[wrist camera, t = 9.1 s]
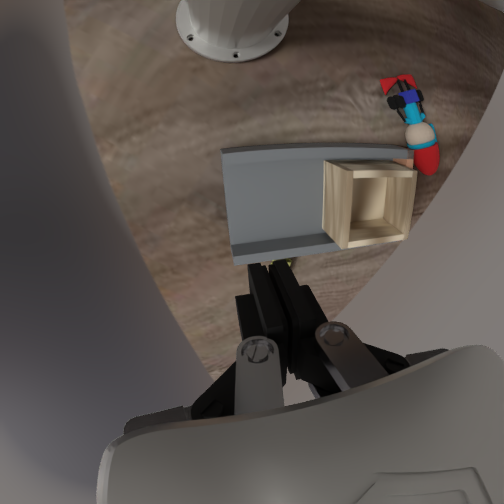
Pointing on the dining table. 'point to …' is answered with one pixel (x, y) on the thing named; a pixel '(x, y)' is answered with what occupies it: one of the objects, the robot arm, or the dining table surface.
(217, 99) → the dining table surface
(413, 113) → the toy figure
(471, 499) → the robot arm
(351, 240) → the crate
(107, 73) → the dining table surface
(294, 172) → the rail bay
